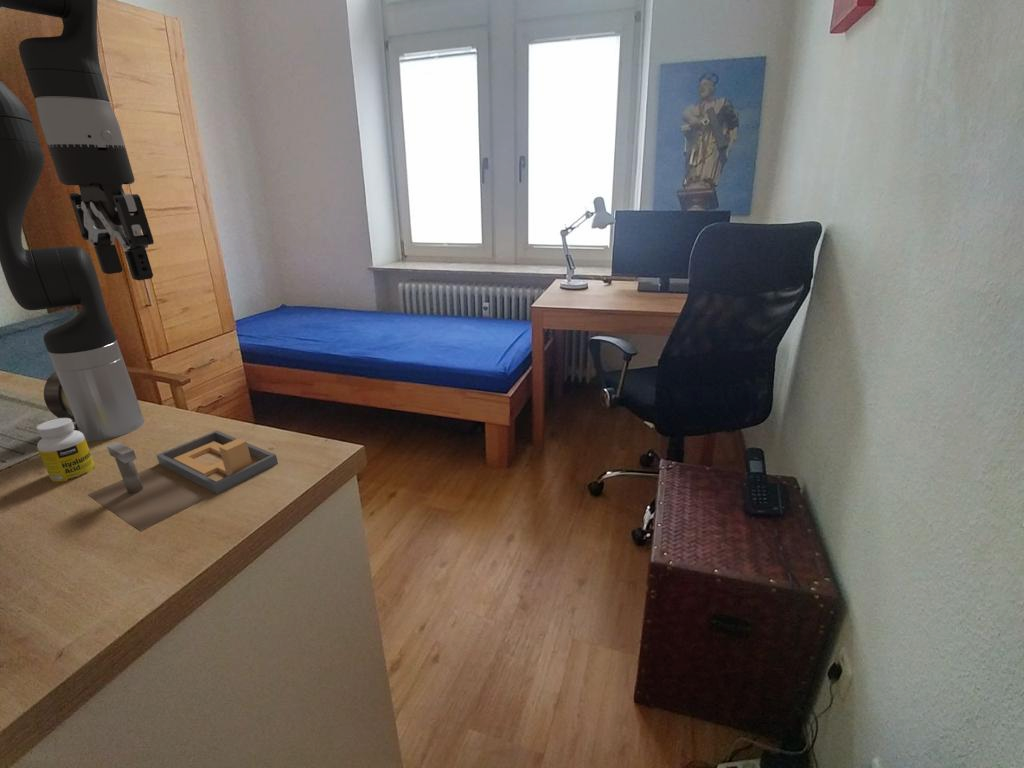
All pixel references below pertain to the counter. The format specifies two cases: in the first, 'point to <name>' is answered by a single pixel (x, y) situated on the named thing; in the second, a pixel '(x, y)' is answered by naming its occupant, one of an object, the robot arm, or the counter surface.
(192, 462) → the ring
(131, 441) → the counter surface
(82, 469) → the supplement bottle
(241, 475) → the tray
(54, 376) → the alarm clock
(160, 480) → the board
